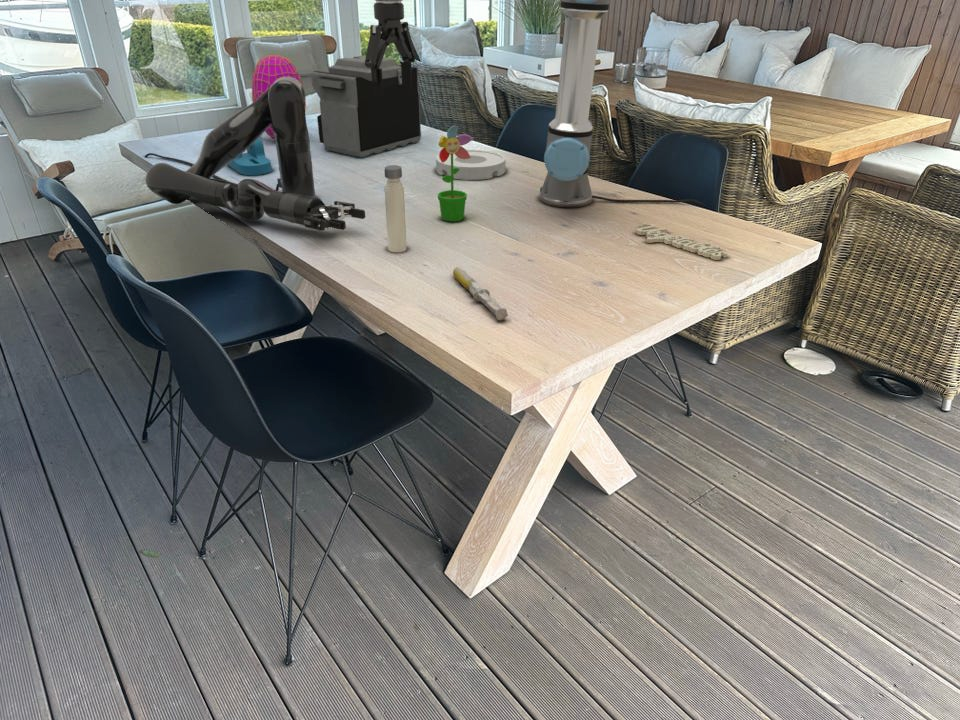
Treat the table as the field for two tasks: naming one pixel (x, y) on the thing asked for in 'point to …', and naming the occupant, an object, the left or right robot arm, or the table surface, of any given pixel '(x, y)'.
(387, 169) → the cap
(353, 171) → the table surface
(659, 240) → the decorative sign
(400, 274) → the table surface
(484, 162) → the ashtray
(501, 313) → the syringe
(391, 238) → the bottle
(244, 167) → the camera mount
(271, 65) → the decorative egg
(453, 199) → the potted flower
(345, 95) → the electronic device
